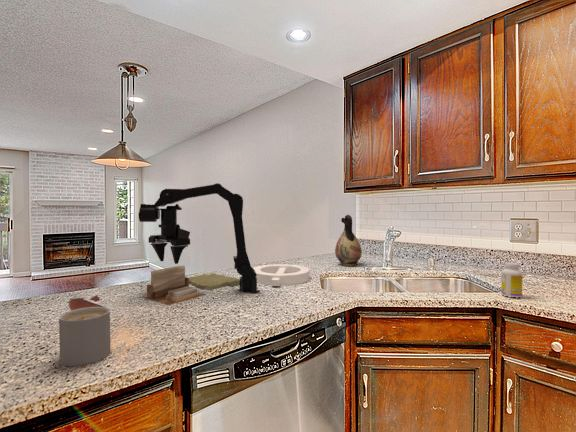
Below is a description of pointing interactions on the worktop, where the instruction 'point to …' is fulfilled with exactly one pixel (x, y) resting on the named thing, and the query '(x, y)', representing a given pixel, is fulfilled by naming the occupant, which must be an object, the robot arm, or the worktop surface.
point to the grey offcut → (182, 291)
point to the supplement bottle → (511, 280)
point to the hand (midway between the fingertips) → (169, 262)
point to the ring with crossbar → (282, 274)
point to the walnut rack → (165, 293)
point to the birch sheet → (167, 278)
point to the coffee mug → (84, 336)
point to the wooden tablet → (83, 303)
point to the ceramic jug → (348, 245)
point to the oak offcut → (178, 299)
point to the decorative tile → (213, 281)
